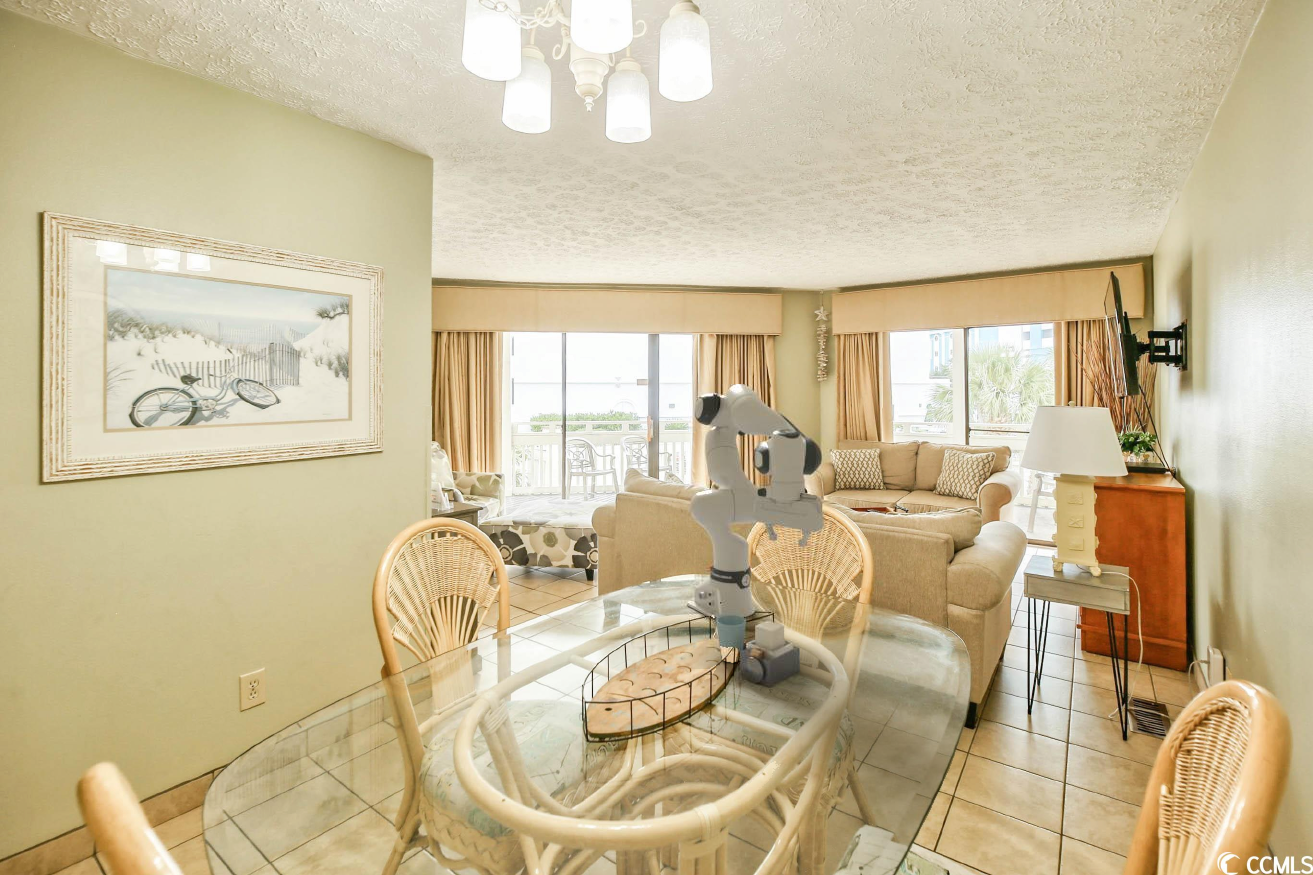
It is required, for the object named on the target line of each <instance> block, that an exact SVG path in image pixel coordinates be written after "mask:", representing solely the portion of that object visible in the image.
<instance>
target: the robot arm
mask: <svg viewBox="0 0 1313 875" xmlns="http://www.w3.org/2000/svg"><path fill="white" fill-rule="evenodd" d="M694 417H695V419H696V421H697V423H699V424H702V425H704V426H710V427H711V426H712V427H711V428H710V429H709V430H707V432H706V434H705V440H704V441H705V442H704V453H705V461H706V468H707V474H708V475H707V476H708V477H709V479H710V481H711V483H713V484H714V485H716V486H718V487H720V489H707V490H703V491H699V492H695V494H694V495H693V496H692V498H691V499H690V503H689V512H690V514H691V517H692V519H693V520H694V521H695V522H696V523H698V524H699V525H700V526H701V527H702V528H704V530H705V531H706V532H707V534H708V535H709V537H710V540H711V543H712V551H713V565H712V566H710V567H707V572H710V574H709V576H708V577H707V578H706V579H704V580H703V581H701V582H700V583H699V584H697V585H696V587H695V589H694V595H693V597H692V598H690V599H688V601H686V602H687V603H686V605H687V606H688V607H689V608H692V609H693V610H695V611H698V612H699V613H702V614H703V615H704V616H707V617H709V618H711V617H710V616H711V615H714V617H716V618H715V619H717V618H718V617H720V616H724V615H737V616H741V617H743V618H746V617H750V616H752V615H753V614H754V613H755V611H756V609H755V605H754V602H753V598H752V591H751V577H752V576H751V575H752V574H751V573H752V572H751V566H750V545H749V542H748V540H746V538H745V537H743V536H741V535H739V534H737V533H734V531H733V532H732V531H731V528H730V526H731V525H735V524H736V525H739V524H742V525H743V524H753V523H754V524H755V523H760V524H765V529H766V531H767V533H768V540H769V541H773V542H776V541H778V533H777V532H775V530H774V527H775V526H778V527H784V528H787V529H788V528H790V529H795V530H799V531H801V534H802V535H803V536H802V537H801V538H799V539H798V546H799V547H801V548H806V547H807V546H808V539H809V537H811V535H812V533H817V532H820V531H822V530H823V529H824V527H825V522H824V521H825V520H824V514H823V513H824V512H823V501H822V500H821V498H819V496H818V495H815V494H808V493H806V492H805V490H806V489H805V488H806V487H805V485H806V483H805V481H806V480H805V479H806V478H805V476H806V475H807V476H811V475H812V474H814V473H815V472H816V471H817V470H818V468H819V467H820V466H821V464H822V460H823V458H822V457H823V455H822V451H821V449H820V446H819V445H818V444H817V442H815V440H813V439H812V438H811V437H807V436H806V435H805V434H804V433H803V432H802V431H801V430H800V429H799V428H797V426H795V424H793V422H792V421H790V419H788V418H787V417H786V416H784V415H783V414H781V413H779V412H777V411H776V410H775V409H772V408H771V407H769V406H768V405H767V404H765V402H764V401H763V400H762V399H761V398H760V396H759V395H758V394H757V392H755V390H753V389H752V388H751V387H750V386H748V385H746V384H743V383H741V384H740V383H739V384H734V385H732V386H731V387H730V388H728V390H727V391H726V393H725V394H718V393H704V394H702V395H700V396H699V397H698V399H697V400H696V403H695V406H694ZM746 434H747V435H750V436H763V437H770V438H769V439H767V440H764V441H761V442H760V443H759V444H758V445H757V446H756V447H755V448H754V450H753V451H754V452H753V465H754V467H755V469H756V470H757V471H758V472H759V473H760V474H762V475H764V476H765V475H766V476H771V477H770V484H767V485H765V486H760V487H758V486H757V485H755V484H754V483H753V482H752V481H751V480H750V479H749V478H748V477H747V475H746V474H745V471H744V469H743V466H742V462H741V458H740V454H739V453H740V452H739V447H738V445H737V436H738V435H739V436H740V437H742V436H745V435H746ZM721 488H722V489H721ZM720 602H722V603H721V604H720Z"/></svg>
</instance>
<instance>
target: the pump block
mask: <svg viewBox="0 0 1313 875" xmlns="http://www.w3.org/2000/svg"><path fill="white" fill-rule="evenodd" d="M754 628H755V630H754V632H755V633H754V640H755V645H756V646H758V647H761V648H764V649H767V650H769V651H772V652H773V651H775V650H777V649H779V648H782V647H784V641H785V625H783V624H780V623H776V622H774V621H770V620H766V621H763V622H760V623H759V624H756V625H755V626H754Z"/></svg>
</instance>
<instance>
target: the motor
mask: <svg viewBox="0 0 1313 875" xmlns="http://www.w3.org/2000/svg"><path fill="white" fill-rule="evenodd" d="M745 647H746V648H743V650H742V651H740V662H739V664H740V665H739V668H740V669H739V671H740V672H739V673H740V674H739V675H740V676H742V677H744V678H746V679H747V680H748V681H749V682H750V683H752V684H760V685H764V687H765V686H766V687H767V688H772V687H774V686H776V685H777V684H779V683H781V682H783V681H785V680H787V679H788V678H790V677H792V676H795V675H796V674H798V673H800V671H801V670H800V668H801V666H800V665H801V664H800V663H801V662H800V660H801V659H800V658H801V657H800V650H801V649H800V647H799V646H796V645H794V643H792V642H789V641H787V640H784V647H782V648H779V649H777V650H775V651H773V652H772V651H769V650H767V649H764V648H761V647H758V646H756V645H755V639H752V640H750V641H749V642H746V643H745Z"/></svg>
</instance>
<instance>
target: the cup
mask: <svg viewBox="0 0 1313 875" xmlns="http://www.w3.org/2000/svg"><path fill="white" fill-rule="evenodd" d="M715 619H716V621H715V622H716V628H717V636H718V644H719V647H720V646H722V647H726V648H728V647H736V648H737V649H738V650H739V652H740V651H742V650H744V647H745V646H744V644H745V635H746V627H747V619H746V617H741V616H737V615H724V616H720V617H718V618H715Z"/></svg>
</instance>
